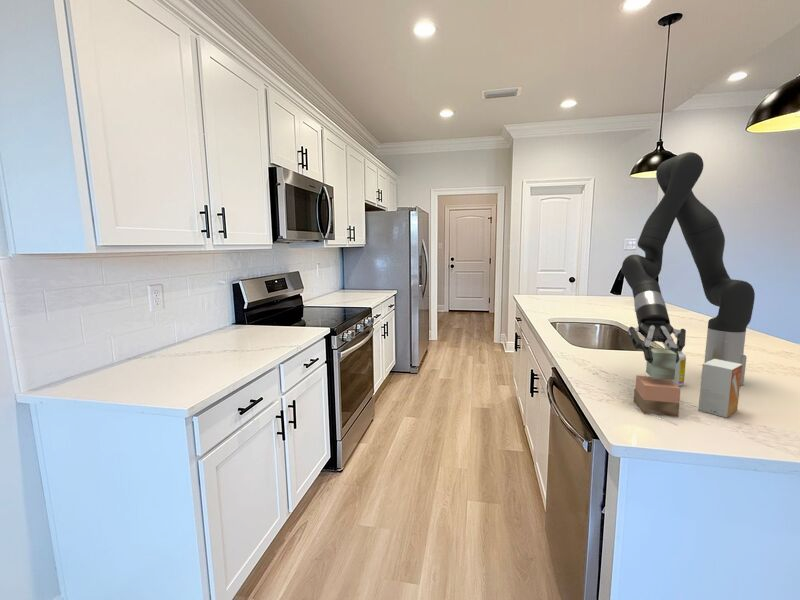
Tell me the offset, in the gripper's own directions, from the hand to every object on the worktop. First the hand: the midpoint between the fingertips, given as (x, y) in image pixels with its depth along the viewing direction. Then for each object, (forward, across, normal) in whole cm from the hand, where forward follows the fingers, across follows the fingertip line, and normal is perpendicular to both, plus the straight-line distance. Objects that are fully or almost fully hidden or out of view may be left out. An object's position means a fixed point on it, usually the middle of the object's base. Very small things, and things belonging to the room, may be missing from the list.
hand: (662, 362), depth 98 cm
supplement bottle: (-7, +11, +27) cm, 30 cm away
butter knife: (+16, +2, +4) cm, 17 cm away
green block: (+2, 0, +4) cm, 4 cm away
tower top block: (+6, 0, +8) cm, 10 cm away
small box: (+7, +15, +13) cm, 21 cm away
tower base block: (+9, -1, +11) cm, 14 cm away
